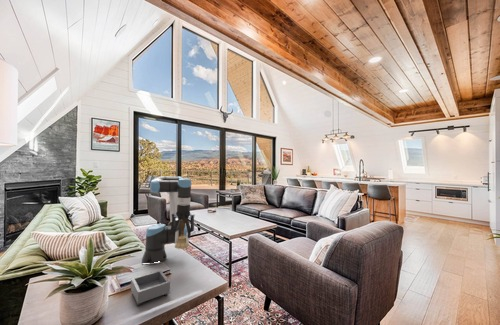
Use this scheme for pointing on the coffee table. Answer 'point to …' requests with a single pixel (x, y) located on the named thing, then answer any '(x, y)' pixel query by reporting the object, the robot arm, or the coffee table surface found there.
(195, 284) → the coffee table surface
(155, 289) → the grey footed planter box
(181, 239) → the hand bell
